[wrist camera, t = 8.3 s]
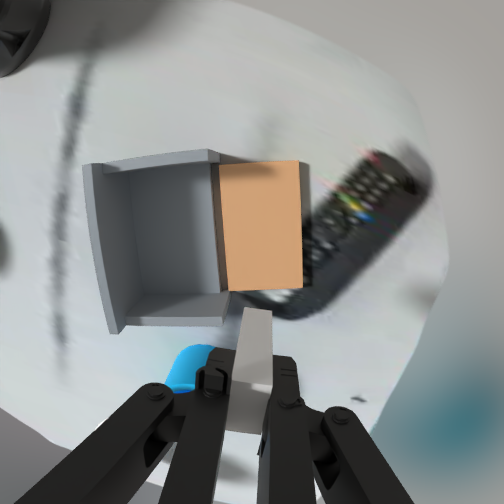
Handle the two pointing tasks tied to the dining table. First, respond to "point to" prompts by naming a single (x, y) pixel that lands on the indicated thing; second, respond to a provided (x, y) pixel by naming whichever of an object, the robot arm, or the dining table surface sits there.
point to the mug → (187, 368)
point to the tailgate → (262, 225)
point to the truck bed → (156, 240)
